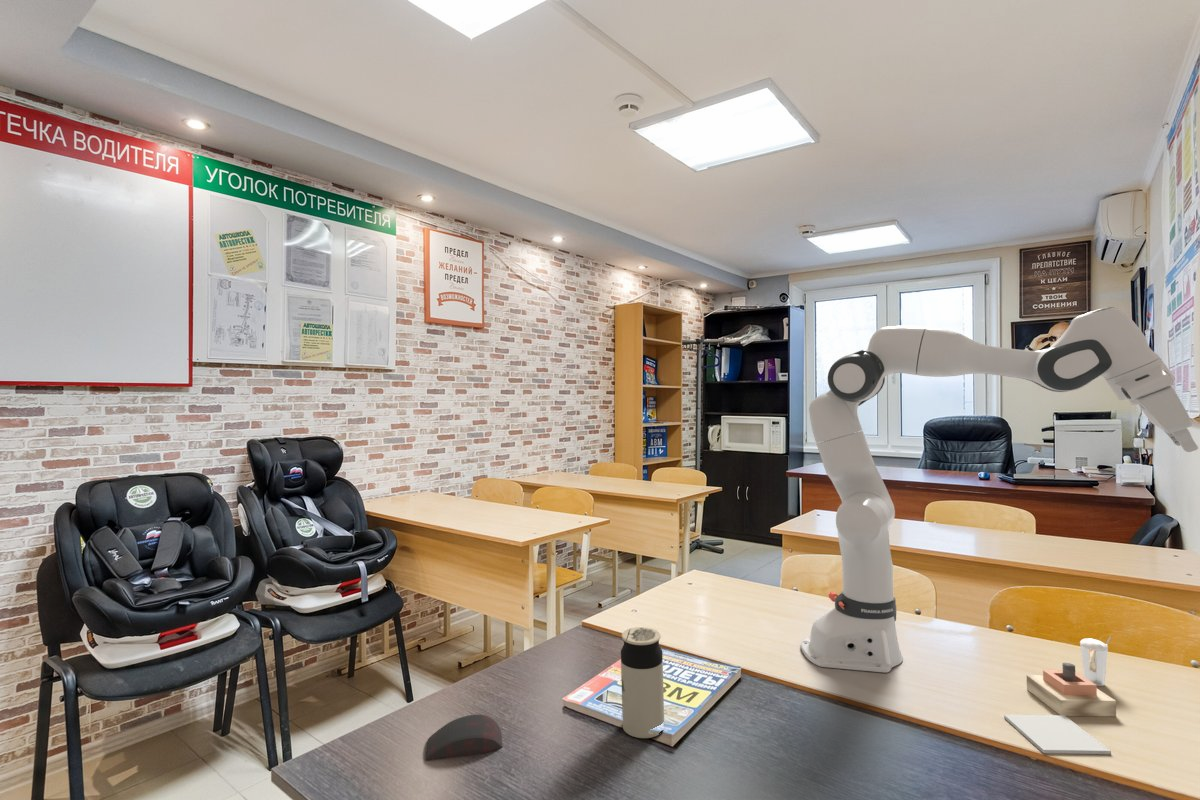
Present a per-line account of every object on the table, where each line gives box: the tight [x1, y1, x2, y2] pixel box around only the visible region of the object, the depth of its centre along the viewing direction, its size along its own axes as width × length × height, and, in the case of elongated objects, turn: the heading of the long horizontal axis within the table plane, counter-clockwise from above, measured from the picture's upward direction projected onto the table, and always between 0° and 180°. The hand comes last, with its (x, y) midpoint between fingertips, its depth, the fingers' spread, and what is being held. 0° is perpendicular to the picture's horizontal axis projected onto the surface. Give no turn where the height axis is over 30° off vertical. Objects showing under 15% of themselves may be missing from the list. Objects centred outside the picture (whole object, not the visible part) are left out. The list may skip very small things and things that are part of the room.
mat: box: [1003, 714, 1112, 755], centre depth 106 cm, size 11×11×1 cm
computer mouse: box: [424, 714, 503, 762], centre depth 108 cm, size 8×14×4 cm, turn 102°
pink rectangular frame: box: [1042, 669, 1098, 695], centre depth 117 cm, size 6×6×2 cm
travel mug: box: [620, 626, 665, 739], centre depth 112 cm, size 8×8×18 cm
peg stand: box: [1026, 662, 1117, 717], centre depth 117 cm, size 10×10×8 cm
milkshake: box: [1079, 636, 1112, 687], centre depth 124 cm, size 5×5×10 cm
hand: (1187, 447), depth 109 cm, fingers open, 8 cm apart
